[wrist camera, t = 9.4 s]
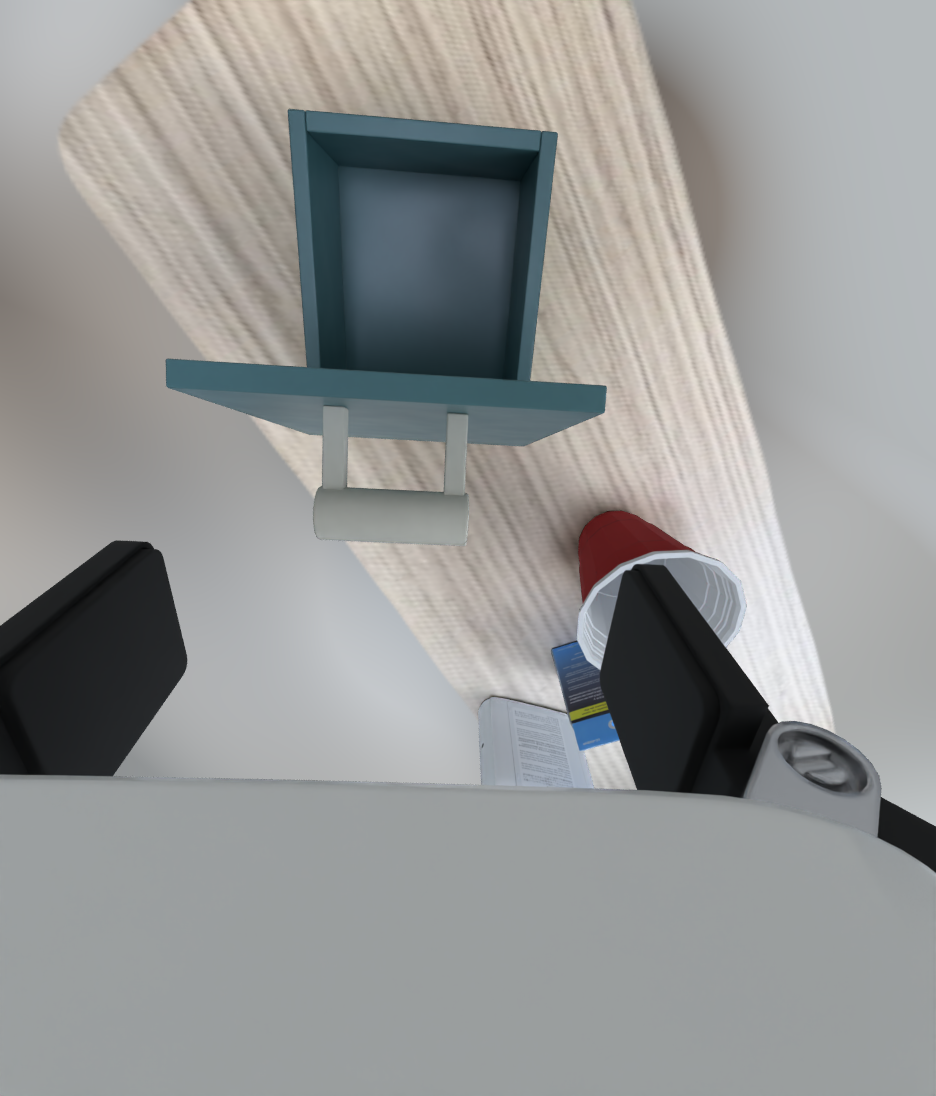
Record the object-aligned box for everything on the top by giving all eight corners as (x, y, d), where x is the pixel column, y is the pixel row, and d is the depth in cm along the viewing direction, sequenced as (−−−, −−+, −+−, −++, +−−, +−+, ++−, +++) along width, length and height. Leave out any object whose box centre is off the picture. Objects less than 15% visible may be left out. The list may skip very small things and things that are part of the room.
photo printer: (471, 721, 52) (476, 837, 41) (485, 690, 50) (493, 803, 39) (564, 741, 54) (592, 858, 43) (580, 712, 52) (614, 826, 41)
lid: (164, 357, 14) (169, 542, 15) (607, 385, 15) (592, 560, 16) (309, 420, 30) (308, 510, 30) (525, 432, 30) (519, 520, 31)
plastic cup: (535, 590, 45) (560, 683, 35) (563, 474, 40) (603, 541, 30) (652, 603, 46) (712, 698, 36) (693, 492, 41) (777, 562, 31)
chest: (326, 151, 31) (286, 108, 23) (533, 168, 32) (558, 131, 24) (339, 398, 37) (310, 425, 30) (510, 408, 38) (523, 437, 31)
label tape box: (560, 676, 50) (590, 786, 39) (548, 645, 48) (577, 750, 37) (649, 650, 49) (707, 755, 38) (640, 617, 47) (698, 716, 36)
